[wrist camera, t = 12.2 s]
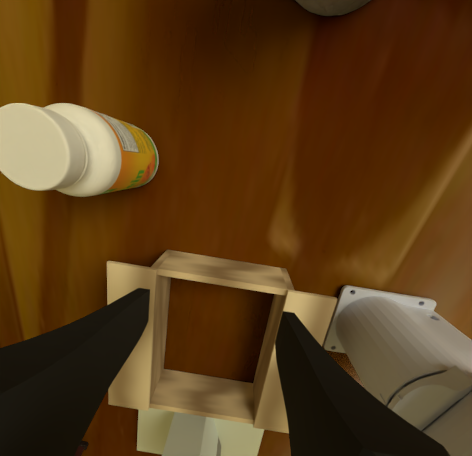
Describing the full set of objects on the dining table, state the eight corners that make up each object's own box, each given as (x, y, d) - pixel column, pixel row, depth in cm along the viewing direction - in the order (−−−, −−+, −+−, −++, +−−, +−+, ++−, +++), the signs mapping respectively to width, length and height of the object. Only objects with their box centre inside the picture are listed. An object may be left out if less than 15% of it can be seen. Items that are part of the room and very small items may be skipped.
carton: (320, 274, 22) (337, 299, 18) (285, 392, 27) (292, 434, 22) (132, 244, 22) (106, 262, 18) (130, 367, 26) (108, 404, 22)
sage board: (270, 398, 27) (270, 405, 26) (253, 461, 30) (253, 468, 29) (142, 378, 27) (139, 384, 26) (139, 443, 30) (136, 450, 29)
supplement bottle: (125, 197, 21) (27, 223, 11) (89, 145, 20) (-54, 127, 10) (171, 168, 20) (105, 170, 10) (136, 112, 19) (26, 57, 9)
